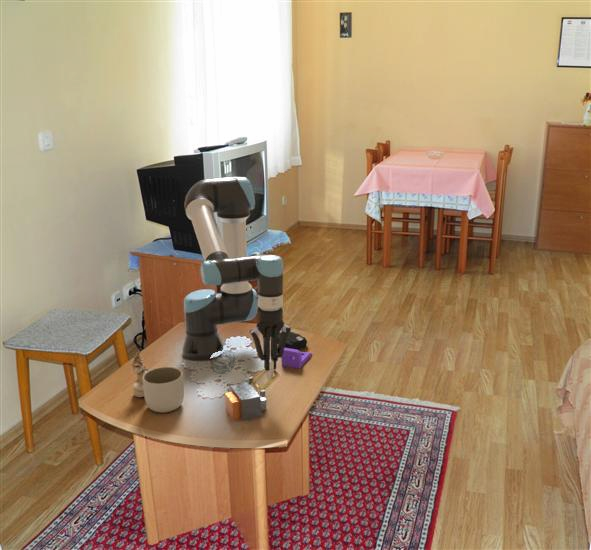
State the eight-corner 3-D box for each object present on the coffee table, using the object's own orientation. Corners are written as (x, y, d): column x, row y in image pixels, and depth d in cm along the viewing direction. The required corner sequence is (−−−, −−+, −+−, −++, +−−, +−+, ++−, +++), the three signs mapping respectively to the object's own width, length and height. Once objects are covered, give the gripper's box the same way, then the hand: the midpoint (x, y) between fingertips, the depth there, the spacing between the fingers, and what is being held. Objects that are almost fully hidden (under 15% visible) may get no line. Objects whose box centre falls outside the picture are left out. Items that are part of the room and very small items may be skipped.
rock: (295, 339, 254) (295, 326, 252) (308, 348, 248) (309, 334, 245) (273, 346, 249) (273, 332, 247) (287, 355, 242) (287, 341, 240)
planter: (149, 420, 199) (146, 387, 196) (141, 402, 210) (138, 371, 207) (189, 411, 203) (187, 379, 200) (180, 394, 214) (177, 363, 211)
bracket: (299, 370, 230) (299, 352, 228) (281, 367, 233) (281, 349, 231) (312, 357, 241) (311, 339, 239) (294, 354, 244) (294, 337, 242)
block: (231, 405, 206) (230, 381, 204) (253, 400, 209) (252, 376, 206) (242, 421, 197) (241, 395, 194) (266, 415, 199) (265, 390, 197)
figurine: (160, 396, 213) (156, 353, 209) (137, 401, 210) (133, 358, 206) (153, 387, 219) (149, 346, 215) (131, 392, 216) (127, 350, 212)
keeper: (250, 381, 205) (269, 364, 206) (252, 383, 205) (271, 366, 207) (259, 391, 198) (278, 374, 199) (261, 393, 198) (280, 376, 200)
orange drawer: (260, 402, 208) (259, 385, 206) (268, 412, 202) (267, 394, 200) (226, 410, 203) (225, 392, 202) (233, 420, 197) (232, 402, 196)
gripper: (254, 313, 191) (254, 387, 197) (294, 308, 195) (293, 380, 202) (246, 305, 197) (246, 377, 204) (285, 300, 202) (284, 371, 209)
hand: (270, 379), depth 203 cm, fingers closed
